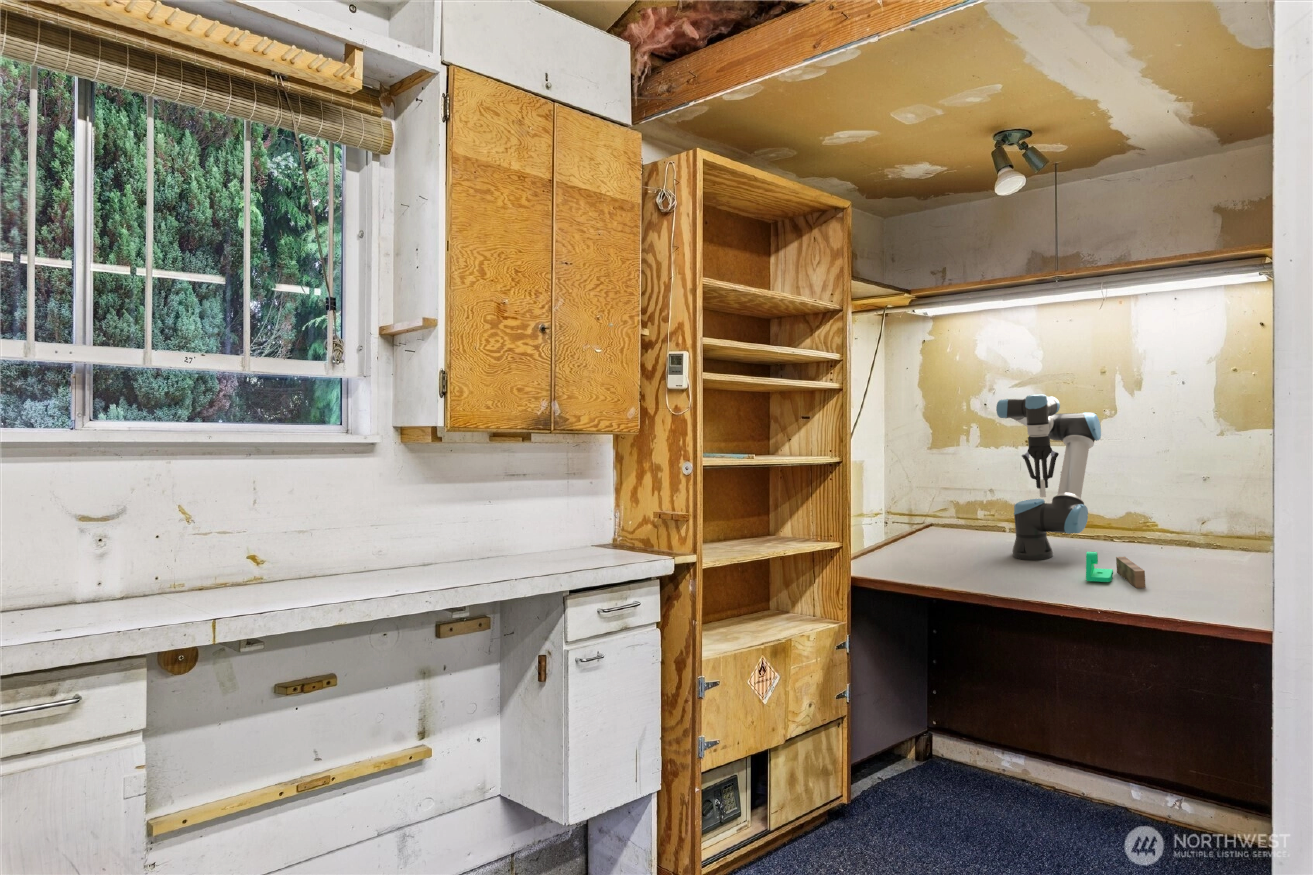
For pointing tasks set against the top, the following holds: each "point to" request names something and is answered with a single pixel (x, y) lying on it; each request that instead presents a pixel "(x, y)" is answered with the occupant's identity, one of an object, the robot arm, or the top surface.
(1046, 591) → the top surface
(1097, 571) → the camera mount
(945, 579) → the top surface
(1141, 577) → the block
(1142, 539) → the top surface
